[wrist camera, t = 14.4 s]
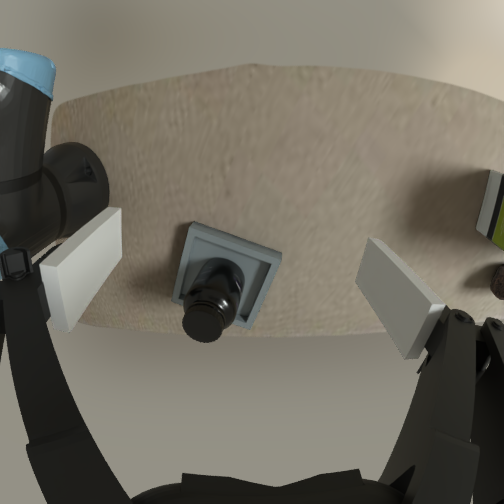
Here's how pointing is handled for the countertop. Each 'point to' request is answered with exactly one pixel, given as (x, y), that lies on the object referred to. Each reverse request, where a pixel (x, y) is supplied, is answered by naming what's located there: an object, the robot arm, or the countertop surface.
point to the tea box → (493, 210)
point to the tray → (237, 250)
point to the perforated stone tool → (498, 283)
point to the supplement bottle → (213, 299)
